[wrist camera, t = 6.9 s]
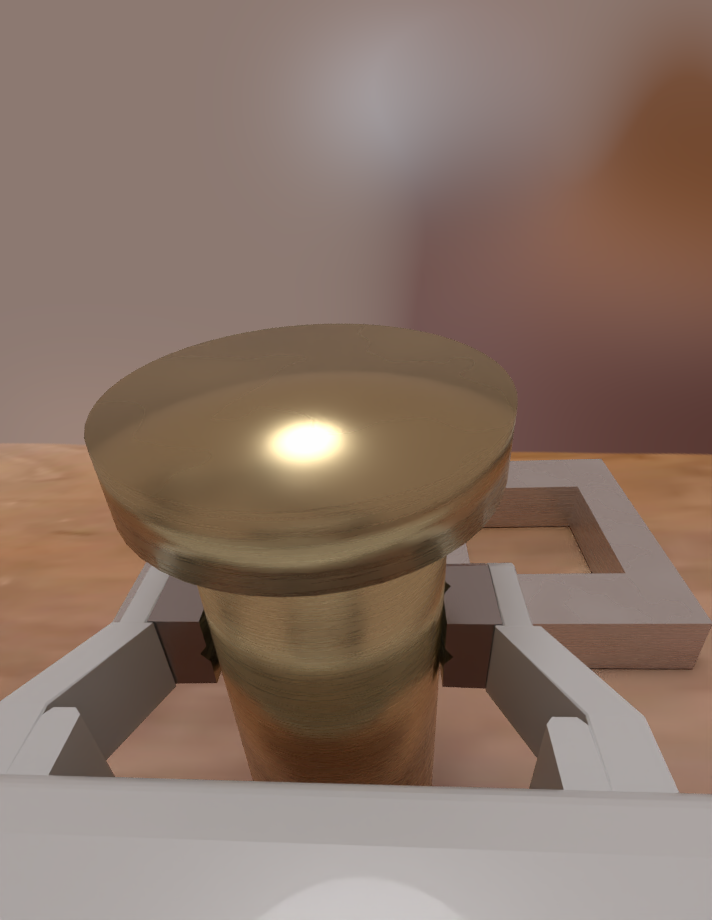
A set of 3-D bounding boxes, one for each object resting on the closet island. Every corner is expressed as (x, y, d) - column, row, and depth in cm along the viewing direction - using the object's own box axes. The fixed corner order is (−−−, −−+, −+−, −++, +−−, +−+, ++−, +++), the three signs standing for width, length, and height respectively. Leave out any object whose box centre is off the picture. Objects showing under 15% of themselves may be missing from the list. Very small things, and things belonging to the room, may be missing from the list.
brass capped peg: (206, 937, 11) (-28, 512, 5) (261, 693, 17) (176, 327, 10) (477, 950, 11) (580, 508, 5) (448, 696, 16) (479, 319, 10)
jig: (130, 666, 21) (110, 624, 20) (208, 504, 30) (199, 468, 29) (692, 668, 19) (713, 623, 18) (592, 496, 29) (601, 458, 27)
